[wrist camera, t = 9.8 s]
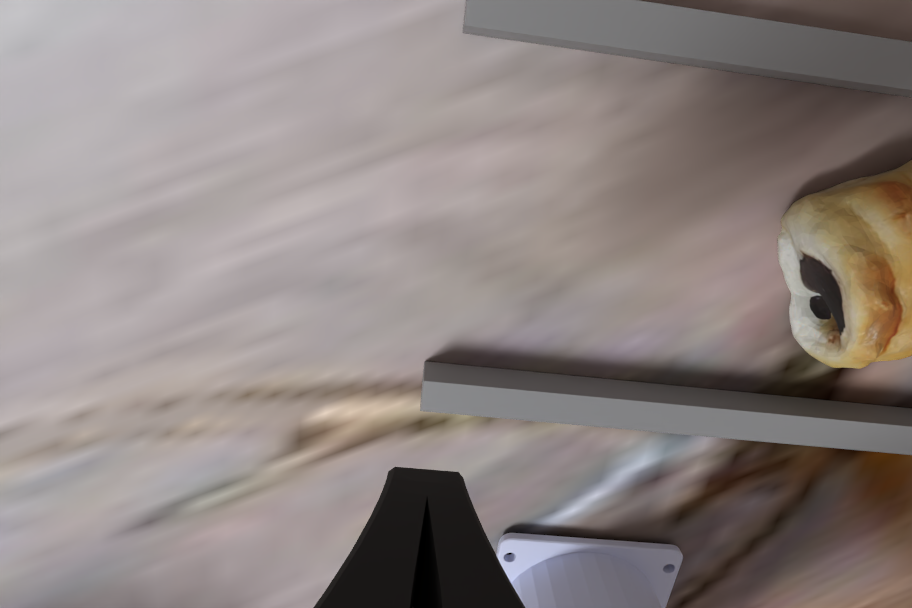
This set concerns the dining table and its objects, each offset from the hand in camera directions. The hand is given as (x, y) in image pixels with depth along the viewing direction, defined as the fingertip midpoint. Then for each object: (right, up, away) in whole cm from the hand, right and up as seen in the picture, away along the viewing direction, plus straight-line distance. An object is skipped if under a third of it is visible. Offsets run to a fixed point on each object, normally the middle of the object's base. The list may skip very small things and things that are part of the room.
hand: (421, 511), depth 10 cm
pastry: (+16, +6, +9) cm, 19 cm away
